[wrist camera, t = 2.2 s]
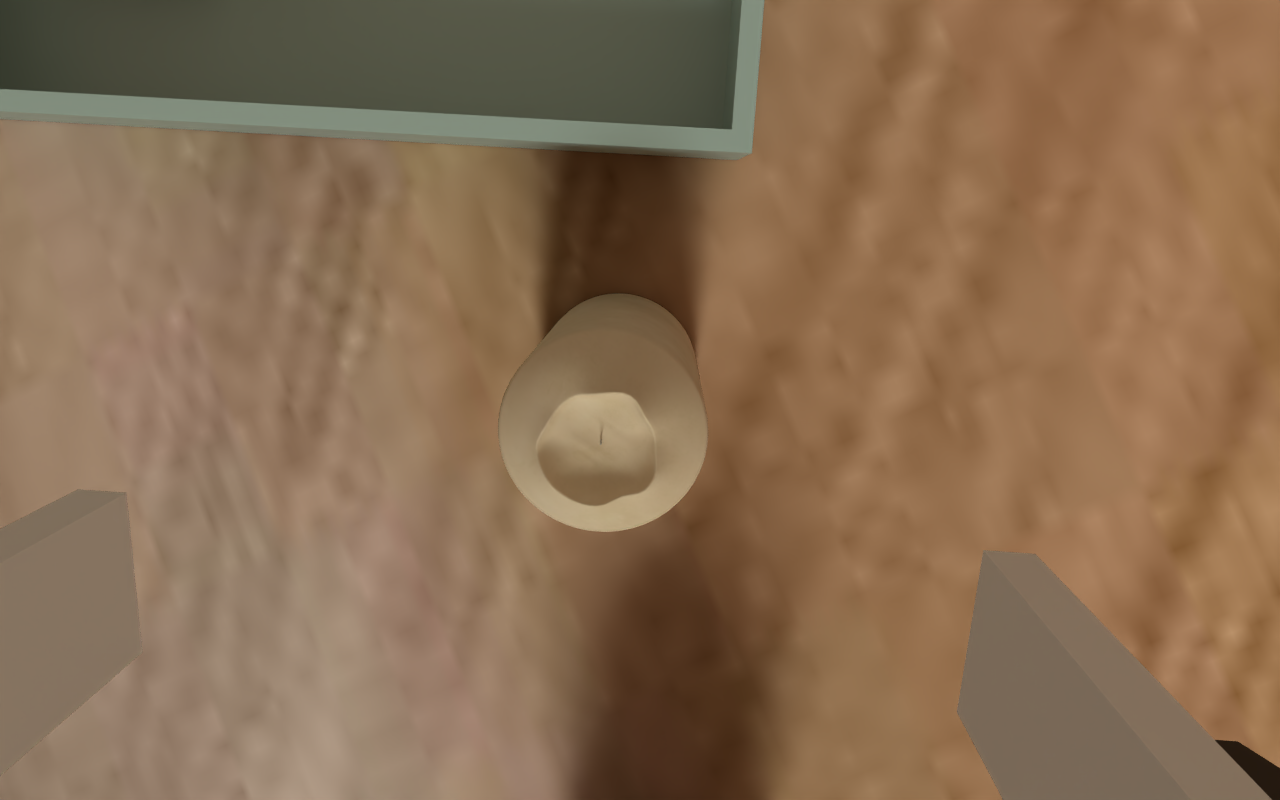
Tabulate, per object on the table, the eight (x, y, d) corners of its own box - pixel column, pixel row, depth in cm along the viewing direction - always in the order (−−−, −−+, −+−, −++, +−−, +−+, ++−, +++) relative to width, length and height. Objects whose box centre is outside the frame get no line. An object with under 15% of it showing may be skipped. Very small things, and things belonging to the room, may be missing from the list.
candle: (603, 259, 30) (572, 291, 20) (727, 353, 30) (757, 429, 21) (512, 383, 31) (442, 470, 21) (635, 471, 31) (621, 595, 22)
